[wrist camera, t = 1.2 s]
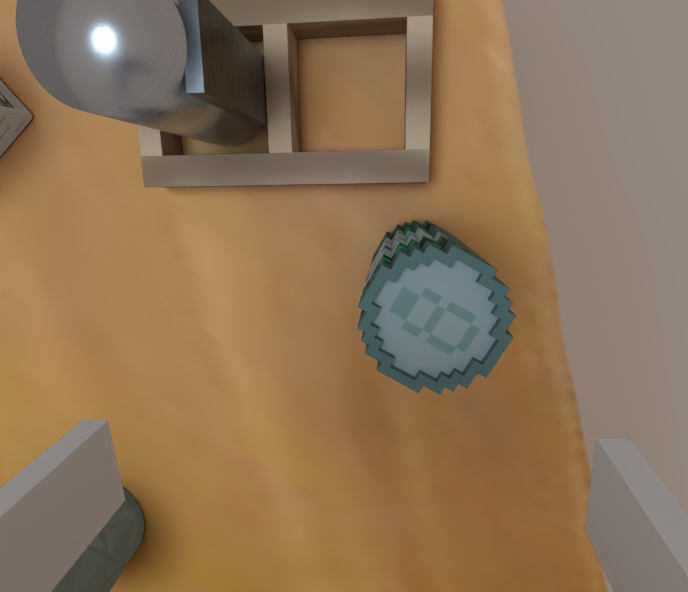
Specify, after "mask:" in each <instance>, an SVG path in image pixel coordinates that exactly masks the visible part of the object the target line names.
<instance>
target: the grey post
mask: <svg viewBox="0 0 688 592" xmlns="http://www.w3.org/2000/svg"><path fill="white" fill-rule="evenodd" d="M16 27H17V35H18V40H19V44H20V47H21V50H22V53H23V56H24V58H25V61H26V63H27V65H28V67H29V68H30V70H31V72H32V74H33V75H34V76H35V78H36V79H37V80H38V82H39V83H40V84H41V85H42V86H43V87H44V88H45V90H46V91H47V92H49V93H50V94H51V95H52V96H53V97H55V98H56V99H58V100H59V101H61V102H62V103H64V104H66V105H68V106H70V107H72V108H75V109H78V110H81V111H85V112H89V113H93V114H97V115H101V116H105V117H109V118H113V119H117V120H121V121H125V122H129V123H133V124H137V125H141V126H145V127H148V128H152V129H156V130H160V131H164V132H168V133H172V134H176V135H180V136H184V137H188V138H192V139H196V140H200V141H204V142H208V143H212V144H216V145H220V146H228V147H230V146H237V145H241V144H243V143H246V142H247V141H249V140H250V139H252V138H253V137H254V136H255V135H256V134H257V133H258V132H259V131H260V129H261V128H262V126H263V125H265V124H267V117H266V116H267V101H266V86H265V77H264V57H263V55H262V54H261V53H260V52H259V51H258V50H257V49H256V48H255V47H254V46H253V45H252V44H251V43H250V42H249V41H248V40H247V39H246V38H245V37H244V36H243V35H242V34H241V33H240V31H239V30H238V29H237V28H236V27H235V26H234V25H233V24H232V23H231V22H230V21H229V20H228V19H227V18H226V17H225V16H224V15H223V14H222V13H221V12H220V11H219V10H218V9H217V8H216V7H215V6H214V5H213V4H212V3H211V2H210V1H209V0H179V1H178V0H17V7H16Z"/></svg>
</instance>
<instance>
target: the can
mask: <svg viewBox="0 0 688 592" xmlns="http://www.w3.org/2000/svg"><path fill="white" fill-rule="evenodd" d="M496 272H497V270H496V269H495V268H494V267H493V266H491V265H490V264H489V263H487V262H486V261H485V260H484V259H482V258H481V257H480V256H478V255H477V254H476V253H475V252H473V251H472V250H471V249H469V248H468V247H467V246H466V245H464V244H463V243H462V242H460V241H459V240H458V239H457V238H455V237H454V236H453V235H451V234H450V233H448V232H446V231H444V230H442V229H441V228H439V227H437V226H435V225H433V224H432V223H430V222H428V221H426V222H425V223H424V225H421V224H420V223H418V222H416V221H414V220H413V221H412V223H411V225H409V224H408V223H406V222H405V224H404V226H403V227H401V226H399V225H397V227H396V228H395V230H394V232H393V234H390V233H388V232H387V233H386V235H385V236H384V238H383V240H382V242H381V244H380V245H379V247H378V249H377V251H376V252H375V254H374V256H373V259H372V262H371V266H370V269H369V273H368V276H367V279H366V283H365V286H364V289H363V293H362V296H361V299H360V303H359V306H358V308H360V309H362V312H361V316H360V320H359V324H358V329H359V330H361V331H363V335H362V339H361V341H362V342H364V343H366V350H365V354H367V355H369V356H371V357H372V358H374V359H376V360H378V365H377V371H379V372H381V373H383V374H385V375H386V376H388V377H390V378H392V379H394V380H396V381H397V382H399V383H401V384H403V385H405V386H407V387H408V388H410V389H412V390H414V391H416V392H418V393H419V392H420V390H421V389H422V387H423V386H425V387H427V388H429V389H431V390H433V391H434V392H436V393H438V394H441V393H442V391H443V390H444V388H445V387H446V388H448V389H450V390H452V391H453V392H454V390H455V389H456V387H457V386H458V384H460V385H462V386H463V387H465V388H468V386H469V385H470V383H471V382H472V380H473V379H474V378H475V376H476V375H477V373H478V374H480V375H482V376H484V377H487V375H488V374H489V373H490V371H491V370H492V368H493V367H494V365H495V364H496V362H497V361H498V359H499V358H500V356H501V355H502V353H503V352H504V351H505V349H506V348H507V346H508V345H509V343H510V342H511V340H512V339H513V336H512V335H511V334H510V333H509V331H508V330H507V328H508V327H509V325H510V324H511V323H512V321H513V320H514V318H515V317H516V315H515V314H514V313H513V312H512V311H511V310H510V309H509V308H510V306H511V305H512V303H513V302H512V301H511V300H510V299H509V298H507V297H506V296H505V295H506V294H507V292H508V291H509V288H508V287H507V286H506V285H504V284H503V283H502V282H501V281H500V280H499V279H497V278H496V277H495V276H494V275H495V273H496Z"/></svg>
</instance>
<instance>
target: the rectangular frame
mask: <svg viewBox="0 0 688 592" xmlns="http://www.w3.org/2000/svg"><path fill="white" fill-rule="evenodd" d="M178 1H179V0H178ZM209 1H210V2H211V3H212V4H213V5H214V6H215V7H216V8H217V9H218V10H219V11H220V12H221V13H222V14H223V15H224V16H225V17H226V18H227V19H228V20H229V21H230V22H231V23H232V24H233V25H234V26H235V27H236V28H237V29H238V30H239V31H240V33H241V34H242V35H243V36H244V37H245V38H246V39H247V40H248V41H249V42H250V41H263V42H264V62H265V81H266V101H267V121H268V141H269V153H251V154H212V155H182V148H181V137H180V135H176V134H172V133H168V132H164V131H160V130H156V129H152V128H148V127H145V126H141V125H137V126H138V135H139V144H140V153H141V162H142V171H143V180H144V187H211V186H268V185H324V184H381V183H427V182H429V159H430V119H431V79H432V39H433V0H209ZM405 33H406V67H405V143H404V150H370V151H331V152H301V143H300V115H299V86H298V58H297V39H308V38H328V37H347V36H366V35H386V34H405Z"/></svg>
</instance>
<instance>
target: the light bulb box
mask: <svg viewBox="0 0 688 592" xmlns="http://www.w3.org/2000/svg"><path fill="white" fill-rule="evenodd" d="M32 118H33V116H32V114H31V113H30V112H29V111H28V110H27V109H26V107H25V106H24V105H23V104H22V103H21V102H20V101H19V100H18V99H17V98H16V96H15V95H14V94H13V93H12V92H11V91H10V90H9V89H8V88H7V87H6V86H5V84H4V83H3V82H2V81H1V80H0V157H1V155H2V154H3V153H4V152H5V150H6V149H7V148H8V147H9V146H10V145H11V143H12V142H13V141H14V140H15V139H16V137H17V136H18V135H19V134H20V133H21V131H22V130H23V129H24V128H25V127H26V125H27V124H28V123H29V122H30V121H31V120H32Z"/></svg>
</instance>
